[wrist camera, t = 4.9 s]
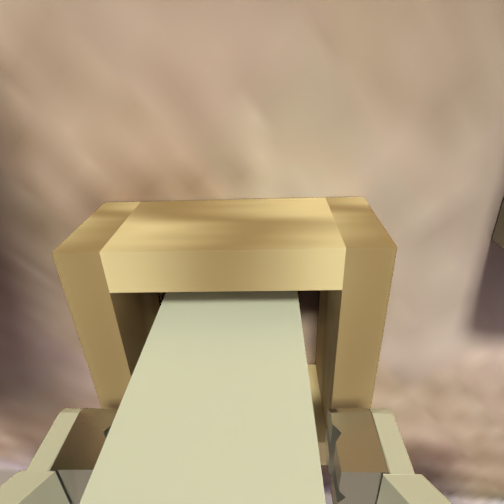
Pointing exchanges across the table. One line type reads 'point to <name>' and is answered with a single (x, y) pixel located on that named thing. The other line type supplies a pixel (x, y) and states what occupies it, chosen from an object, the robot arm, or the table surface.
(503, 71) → the table surface
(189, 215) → the holster
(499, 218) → the frame
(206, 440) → the plug
